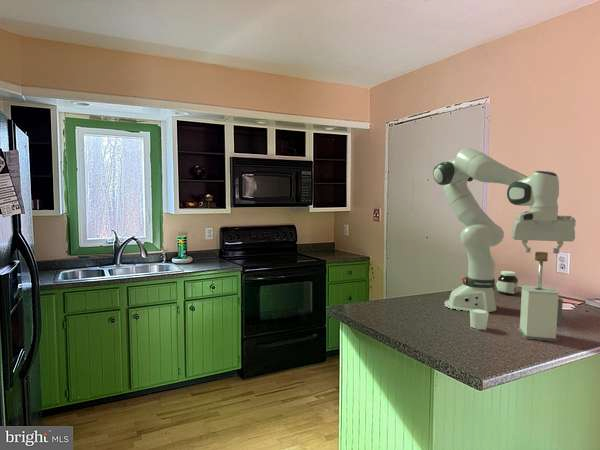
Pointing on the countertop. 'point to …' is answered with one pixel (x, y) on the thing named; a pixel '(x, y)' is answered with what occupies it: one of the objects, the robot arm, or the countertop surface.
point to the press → (540, 313)
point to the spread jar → (507, 283)
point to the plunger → (540, 265)
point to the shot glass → (478, 318)
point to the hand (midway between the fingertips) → (541, 252)
